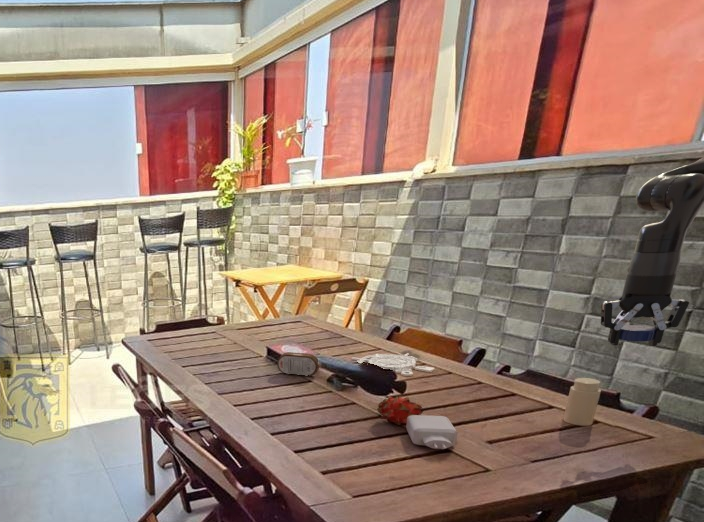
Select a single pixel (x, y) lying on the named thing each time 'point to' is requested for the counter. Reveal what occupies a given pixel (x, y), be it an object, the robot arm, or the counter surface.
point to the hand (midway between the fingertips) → (632, 344)
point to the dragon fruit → (398, 409)
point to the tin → (298, 363)
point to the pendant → (395, 363)
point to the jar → (582, 402)
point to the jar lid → (637, 333)
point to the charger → (431, 431)
